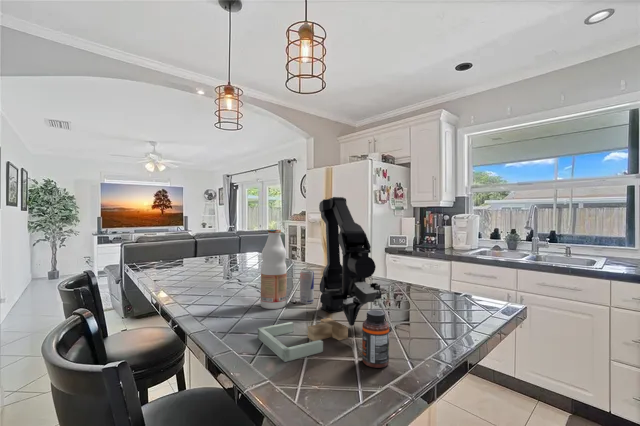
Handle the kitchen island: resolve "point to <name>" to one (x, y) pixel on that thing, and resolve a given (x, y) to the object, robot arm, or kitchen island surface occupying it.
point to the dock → (281, 350)
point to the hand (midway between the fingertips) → (351, 325)
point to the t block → (327, 330)
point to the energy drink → (306, 286)
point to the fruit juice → (273, 272)
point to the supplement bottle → (375, 340)
